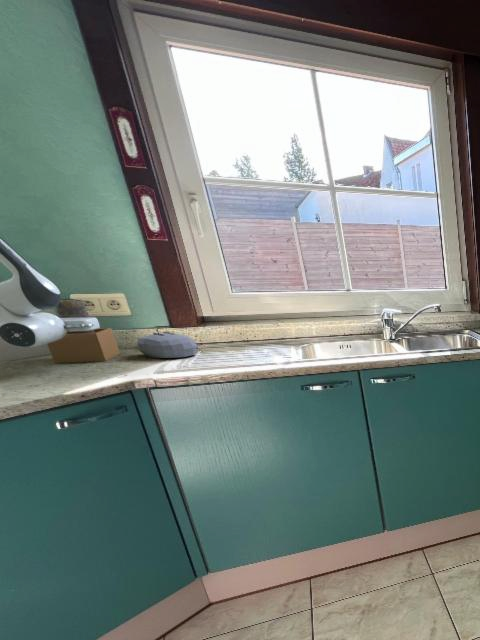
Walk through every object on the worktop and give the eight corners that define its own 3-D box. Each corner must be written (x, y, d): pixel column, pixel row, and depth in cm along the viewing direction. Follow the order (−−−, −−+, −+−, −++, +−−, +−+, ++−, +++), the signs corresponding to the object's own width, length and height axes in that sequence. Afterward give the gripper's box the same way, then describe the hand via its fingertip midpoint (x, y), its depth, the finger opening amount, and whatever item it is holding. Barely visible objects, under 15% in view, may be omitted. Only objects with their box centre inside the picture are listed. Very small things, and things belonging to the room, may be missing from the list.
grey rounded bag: (133, 355, 180) (163, 362, 172) (125, 332, 177) (155, 338, 169) (180, 349, 193) (210, 355, 185) (173, 328, 190) (204, 332, 182)
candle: (89, 354, 178) (68, 297, 170) (109, 355, 178) (89, 298, 170) (67, 358, 171) (45, 299, 163) (88, 359, 171) (66, 299, 163)
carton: (54, 363, 166) (43, 335, 163) (72, 356, 177) (62, 329, 174) (105, 360, 172) (96, 333, 168) (120, 353, 183) (111, 328, 179)
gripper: (85, 316, 156) (103, 311, 167) (-5, 318, 147) (20, 312, 159) (92, 336, 158) (110, 330, 169) (4, 339, 149) (28, 332, 161)
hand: (66, 321), depth 164 cm, fingers open, 8 cm apart
